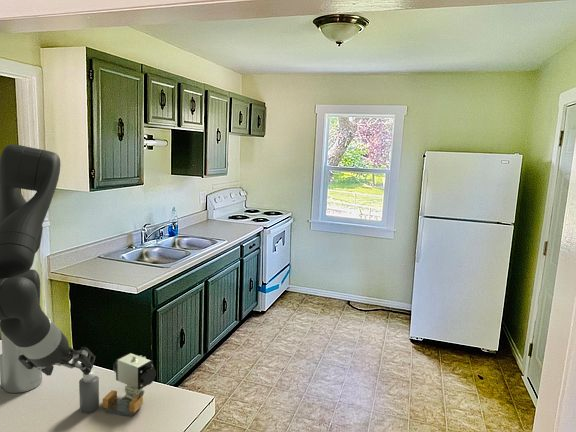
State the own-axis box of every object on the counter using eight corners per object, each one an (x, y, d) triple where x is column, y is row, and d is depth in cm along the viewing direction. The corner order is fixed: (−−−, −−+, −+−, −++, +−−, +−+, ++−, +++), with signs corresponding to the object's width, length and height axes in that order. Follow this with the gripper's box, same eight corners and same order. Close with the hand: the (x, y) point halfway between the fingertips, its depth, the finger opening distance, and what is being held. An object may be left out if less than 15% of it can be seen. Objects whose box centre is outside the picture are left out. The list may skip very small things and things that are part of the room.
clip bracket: (102, 411, 107) (102, 399, 107) (112, 401, 112) (112, 389, 111) (133, 417, 106) (133, 404, 105) (143, 406, 110) (143, 394, 110)
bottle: (75, 412, 107) (75, 376, 105) (87, 401, 111) (86, 367, 110) (91, 414, 106) (91, 378, 105) (102, 404, 110) (102, 369, 109)
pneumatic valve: (143, 407, 110) (143, 365, 108) (112, 394, 115) (112, 354, 113) (158, 397, 115) (158, 357, 113) (128, 385, 120) (128, 346, 118)
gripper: (82, 323, 87) (105, 354, 99) (12, 323, 86) (43, 355, 98) (70, 358, 82) (96, 387, 94) (-4, 359, 81) (31, 388, 93)
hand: (69, 371), depth 96 cm, fingers open, 8 cm apart
